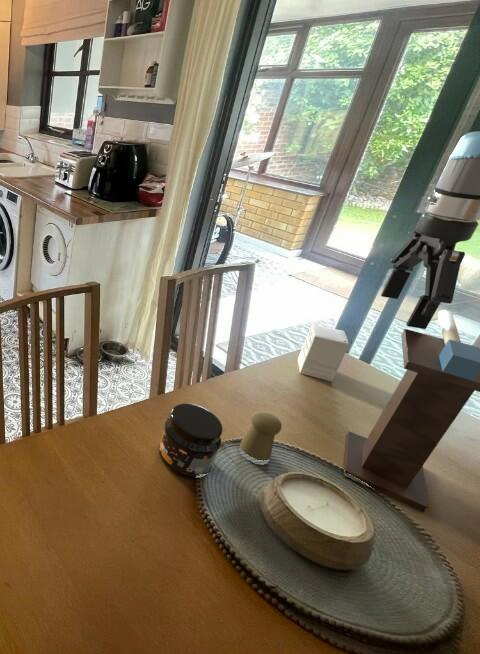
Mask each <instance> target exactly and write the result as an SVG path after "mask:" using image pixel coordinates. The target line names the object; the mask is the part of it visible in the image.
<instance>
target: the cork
mask: <svg viewBox="0 0 480 654" xmlns="http://www.w3.org/2000/svg"><path fill="white" fill-rule="evenodd" d="M250 421H251V426H250V427H249V428H248V430H247V432H246V433H245V434H244V436H243V438H242V439H241V440H240V442H241V443H240V442H239V444H240V446H241V448H242V450H243V451H244V452H245V453H246V454H248V455H249V456H251V457H253V458H255V459H257V460H263V461H264V460H268V459H270V460H271V457H270V456H272V451H273V447H274V442H275V438H276V437H275V436H276V435H278V434H279V433H280V432H281V430H282V421H281V420H280V419H279V417H278V416H276V415H274V414H273V413H271V412H269V411H266V410H257V411H256V412H254V413H253V414H252V416H251V419H250Z"/></svg>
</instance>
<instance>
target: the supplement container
mask: <svg viewBox="0 0 480 654" xmlns="http://www.w3.org/2000/svg"><path fill="white" fill-rule="evenodd" d="M223 429H224V428H223V424H222V422H221V420H220V419H219V418H218V417H217V416H216V415H215V414H214V413H213V412H212V411H210V410H208V409H207V408H206V407H203V406H200V405H197V404H194V403H179V404H177V405H175V406H173V407H172V409H171V411H170V414H169V415H168V416H167V418H166V420H165V422H164V428H163V432H162V436H161V439H160V443H159V445H158V454H159V457H160V459H161V461H162V463H163V464H164V465H165V464H166V465H167V466H168V467H169V468H170V469H169V468H168V467H167V466H166V465H165V466H166V467H167V468H168V469H169V470H170V471H172V470H173V471H174V472H173V471H172V472H173V473H175V472H176V473H175V474H176V475H178V476H181V475H182V476H181V477H183V476H184V478H186V477H187V478H186V479H191V478H192V480H193V479H194V480H196V479H195V477H196V475H199V474H207V473H209V472H210V471H211V472H212V470H211V469H213V465H214V462H215V460H216V457H217V454H218V451H219V450H220V449H221V446H222V438H221V436H222V434H223V431H224V430H223ZM211 472H210V473H211ZM210 473H209V474H210Z"/></svg>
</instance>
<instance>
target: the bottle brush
mask: <svg viewBox="0 0 480 654" xmlns="http://www.w3.org/2000/svg"><path fill="white" fill-rule="evenodd" d="M437 319H438V322H439V327H440V330H441V334H442V339H444V342H445V346H444V348H443V350H442V351H441V353H440V355H439V358H440V363H441V367H442V372H445V373H448V374H452V375H455V376H458V377H461V378H465V379H468V380H471V381H474V380H475V378H476V377H477V375H478V374H479V372H480V347H479V346H476V345H472V344H468V343H464V342H462V340H461V338H460V334H459V331H458V328H457V325H456V322H455V318H454V315H453V313H452V311H450V310H447V309H442V310H440V311H438V312H437Z"/></svg>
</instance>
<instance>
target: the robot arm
mask: <svg viewBox="0 0 480 654" xmlns="http://www.w3.org/2000/svg"><path fill="white" fill-rule="evenodd" d="M458 140H459V141H458V142H457V143H456V146H455V148H454V149H453V151H452V153H451V155H449V158H448V160H447V162H446V165H445V167H444V169H443V171H442V173H441V175H440V177H439V180H438V181H437V183H436V185H435V188H434V190H433V192H432V194H431V196H430V197H427V198H426V202H427V204H426V207H425V208H424V210H425V213H423V214H421V216H420V218H419V220H418V222H417V224H416V226H415V229H414V230H413V231H412V234H411V235H410V237H409V238H408V239H407V240H406V242H405V243H404V244H403V245H401V248H400V249H399V250H398V251H397V252H396V253H395V255H393V257H391V259H390V263H391V264H393V265H392V269H393V270H392V271H391V273H390V275H389V278H388V280H387V281H386V284H385V286H384V288H383V290H382V292H381V293H380V296H381V297H383V298H389V299H395V300H398V299H399V298H400V295H401V293H402V292H403V289H404V287H405V285H406V284H407V282H408V279H409V278H410V276H411V272H413V271H414V268H415V267H416V266H417V265H419V264H420V263H423V264H422V265H423V267H424V268H426V269H425V284H424V285H425V286H424V294H423V295H420V296H419V299H418V301H417V303H416V305H415V306H414V308H413V310H412V313H410V316H409V317H408V320H407V322H406V324H405V325H406V326H407V327H409V328H415V329H421V330H426V329H427V328H428V326H429V324H430V323H431V321H432V319H433V317H434V315H435V313H436V312H437V310H438V308H439V306H440V305H441V304H449V305H451V304H452V302H453V300H454V295H455V291H456V286H457V283H458V277H459V272H460V268H461V264H462V262H463V260H464V258H465V256H466V252H465V251H459V250H455V249H456V245H457V243H460V242H467V241H470V240H471V238H472V237H473V235H474V233H475V232H476V230H477V228H478V226H479V223H478V222H479V221H478V220H480V131H470V132H467V133H466V134H464V135H462V136H461V138H460V139H458Z"/></svg>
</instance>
